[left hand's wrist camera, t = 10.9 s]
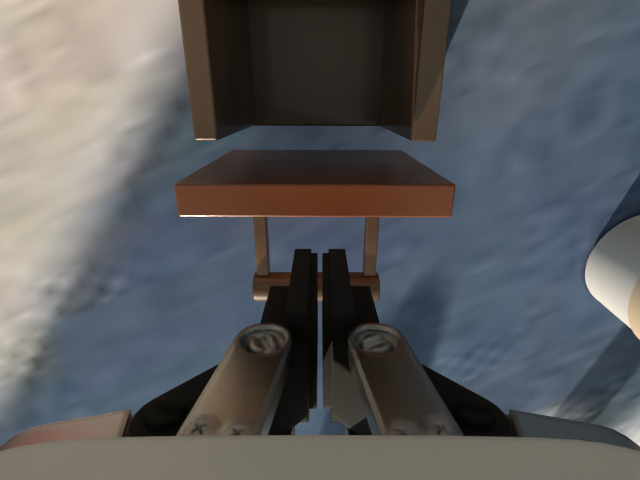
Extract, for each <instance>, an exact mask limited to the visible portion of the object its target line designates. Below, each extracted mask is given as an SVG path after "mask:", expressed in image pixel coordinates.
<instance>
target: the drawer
mask: <svg viewBox="0 0 640 480" xmlns="http://www.w3.org/2000/svg"><path fill="white" fill-rule="evenodd" d="M451 1H452V0H178V4H179V12H180V20H181V29H182V37H183V46H184V54H185V62H186V71H187V79H188V88H189V96H190V105H191V113H192V121H193V130H194V138H195V140H215V141H216V140H218V139H221V138H223V137H226V136H228V135H231V134H233V133H236V132H238V131H241V130H243V129H246V128H248V127H251V126H253V125H292V126H381V127H383V128H385V129H388V130H390V131H392V132H394V133H396V134H399V135H401V136H403V137H405V138H407V139H410V140H412V141H435V140H436V132H437V123H438V115H439V106H440V97H441V89H442V80H443V71H444V62H445V54H446V45H447V36H448V28H449V19H450V10H451ZM174 186H175V193H176V200H177V207H178V214H179V216H196V217H253V221H254V236H255V251H256V266H257V272H256V273H255V274H254V277H253V298H254V301H267V297H268V293H269V289H270V286H289V283H290V277H291V272H270V260H269V240H268V221H267V217H365V235H364V255H363V272H349V277H350V283H351V286H370V289H371V293H372V297H373V301H374V302H377V301H378V300H379V296H380V280H379V275H378V273H376V260H377V244H378V229H379V217H451V215H452V207H453V200H454V193H455V184H453V183H452V182H450V181H448V180H447V179H445V178H444V177H442V176H441V175H439V174H437V173H436V172H434V171H433V170H431V169H430V168H428V167H426V166H425V165H423V164H422V163H420V162H419V161H417V160H415V159H414V158H412V157H411V156H409V155H408V154H406V153H404V152H403V151H401V150H232V151H230V152H228V153H227V154H225V155H223V156H222V157H220V158H218V159H216V160H215V161H213V162H211V163H210V164H208V165H206V166H205V167H203V168H201V169H199V170H198V171H196V172H194V173H193V174H191V175H189V176H187V177H186V178H184V179H182V180H181V181H179V182H177V183H175V185H174ZM318 302H322V272H318Z"/></svg>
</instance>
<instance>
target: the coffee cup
mask: <svg viewBox="0 0 640 480" xmlns="http://www.w3.org/2000/svg"><path fill="white" fill-rule="evenodd" d="M585 280H586V285H587V287H588V289H589V291H590V293H591V294H592V295H593V296H594V297H595V298H596V299H597V300H598V301H600V302H601V303H602V304H603V305H604V306H605V307H607V308H608V309H609V310H610V311H611V312H612V313H614V314H615V315H616V316H617V317H618V318H619V319H621V320H622V321H623V322H624V323H625V324H626V325H628V326H629V327H630V328H631V329H632V331H633V332H634V334H635V335H636V336H637V337H638V338H639V339H640V215H638V216H635V217H632V218H630V219H628V220H626V221H624V222H622V223H620V224H618V225H617V226H615V227H614V228H613V229H611V230H610V231H609V232H608V233H606V234H605V235H604V236H603V237H602V238H601V240H600V241H599V242H598V243H597V244H596V246H595V247H594V249H593V250H592V252H591V254H590V256H589V258H588V261H587V264H586V269H585Z"/></svg>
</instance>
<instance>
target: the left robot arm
mask: <svg viewBox="0 0 640 480" xmlns="http://www.w3.org/2000/svg"><path fill="white" fill-rule="evenodd" d="M317 344H318V268H317V253H311V249H295V253H294V259H293V265H292V271H291V277H290V283H289V286H270V289H269V293H268V297H267V301H266V305H265V308H264V312H263V316H262V320H261V323H260V324H254V325H252V326H249V327H246V328H245V329H243V330H242V331H240V332H239V333H238V334H237V336H236V337H235V338H234V340H233V342H232V343H231V345H230V347H229V348H228V350H227V352H226V353H225V355H224V357H223V358H222V360H221V362H220V363H219V364H218V365H216V366H214V367H212V368H211V369H209V370H207V371H205V372H203V373H201V374H199V375H198V376H196V377H194V378H192V379H190V380H188V381H187V382H185V383H183V384H181V385H179V386H177V387H175V388H174V389H172V390H170V391H168V392H166V393H164V394H162V395H161V396H159V397H157V398H155V399H153V400H152V401H150V402H149V403H147V404H146V405H144V406H143V407H142V408H141V409H140V410H139V411H138V412H137V413H136V414H135V415H131V411H130V409H129V410H124V411H118V412H112V413H107V414H101V415H95V416H90V417H84V418H79V419H73V420H67V421H62V422H56V423H50V424H45V425H40V426H36V427H33V428H30V429H27V430H25V431H23V432H21V433H19V434H17V435H15V436H13V437H12V438H11V439H9V440H8V441H7V442H5V443H4V444H3V445H2V446H1V447H0V480H640V447H639V446H638V445H637V444H636V443H635V442H633V441H632V440H631V439H629V438H628V437H627V436H625V435H623V434H621V433H619V432H617V431H615V430H613V429H610V428H607V427H604V426H600V425H595V424H590V423H584V422H578V421H573V420H567V419H561V418H556V417H550V416H545V415H539V414H533V413H528V412H522V411H516V410H511V409H510V411H509V415H505V414H504V413H503V412H502V411H501V410H500V409H499V408H498V407H497V406H496V405H494V404H493V403H491V402H490V401H488V400H487V399H485V398H483V397H481V396H479V395H478V394H476V393H474V392H472V391H470V390H468V389H466V388H465V387H463V386H461V385H459V384H457V383H455V382H453V381H452V380H450V379H448V378H446V377H444V376H442V375H441V374H439V373H437V372H435V371H433V370H431V369H429V368H428V367H426V366H424V365H422V364H421V363H420V362H419V360H418V358H417V357H416V355H415V353H414V352H413V350H412V348H411V347H410V345H409V343H408V342H407V340H406V338H405V337H404V336H403V334H402V333H401V332H400V331H398V330H397V329H395V328H394V327H391V326H388V325H386V324H380V323H379V320H378V316H377V312H376V308H375V305H374V301H373V297H372V293H371V289H370V286H351V283H350V277H349V271H348V265H347V259H346V253H345V249H329V253H323V268H322V344H323V409H331V422H341V423H342V424H343V425H345V435H295V425H297V424H298V423H299V422H309V409H317Z"/></svg>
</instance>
